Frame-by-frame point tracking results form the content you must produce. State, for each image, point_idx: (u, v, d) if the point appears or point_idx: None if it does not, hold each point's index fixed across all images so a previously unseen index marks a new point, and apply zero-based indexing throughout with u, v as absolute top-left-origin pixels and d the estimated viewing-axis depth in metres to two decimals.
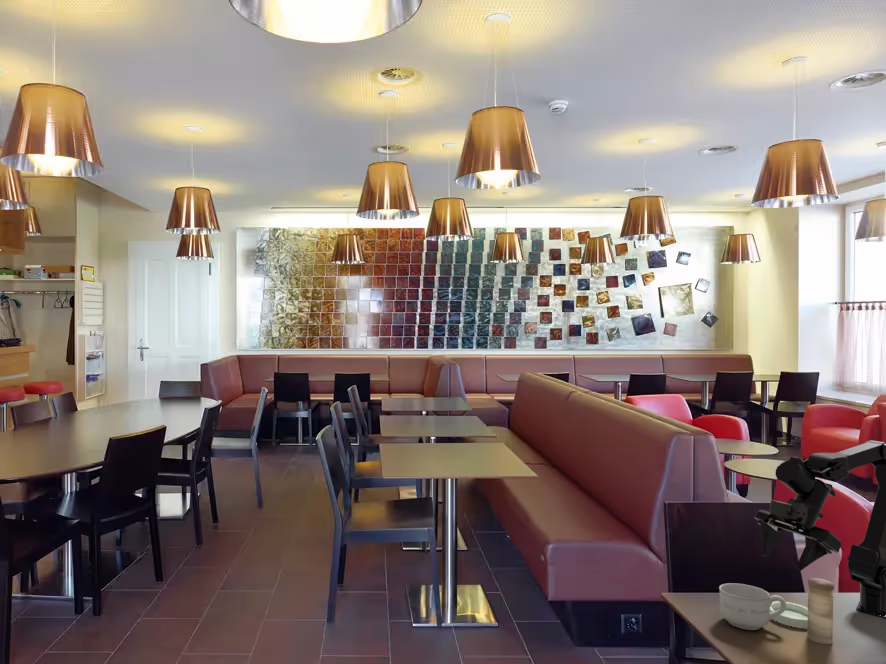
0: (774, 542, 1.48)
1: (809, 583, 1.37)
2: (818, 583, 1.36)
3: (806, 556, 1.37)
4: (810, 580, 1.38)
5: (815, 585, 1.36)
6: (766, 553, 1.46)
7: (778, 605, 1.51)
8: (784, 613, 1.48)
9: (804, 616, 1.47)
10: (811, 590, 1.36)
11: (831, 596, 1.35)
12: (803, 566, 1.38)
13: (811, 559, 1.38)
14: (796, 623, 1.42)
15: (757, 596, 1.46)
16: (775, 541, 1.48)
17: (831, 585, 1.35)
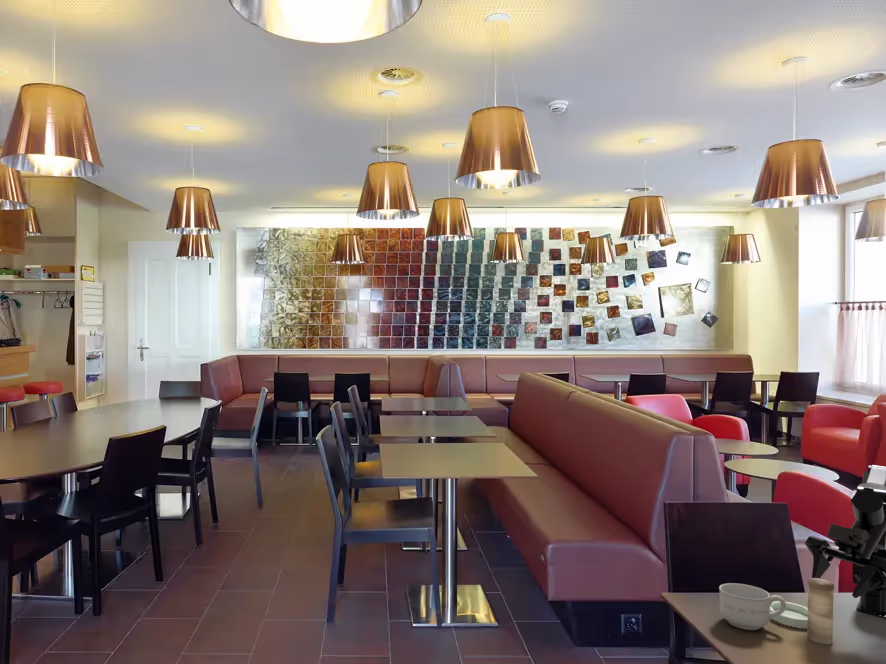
0: (823, 570, 1.45)
1: (809, 583, 1.37)
2: (818, 583, 1.36)
3: (864, 584, 1.34)
4: (810, 580, 1.38)
5: (815, 585, 1.36)
6: None
7: (778, 605, 1.51)
8: (784, 613, 1.48)
9: (804, 616, 1.47)
10: (811, 591, 1.36)
11: (831, 596, 1.35)
12: (859, 594, 1.34)
13: (868, 589, 1.35)
14: (796, 623, 1.42)
15: (757, 596, 1.46)
16: (824, 569, 1.45)
17: (831, 585, 1.35)
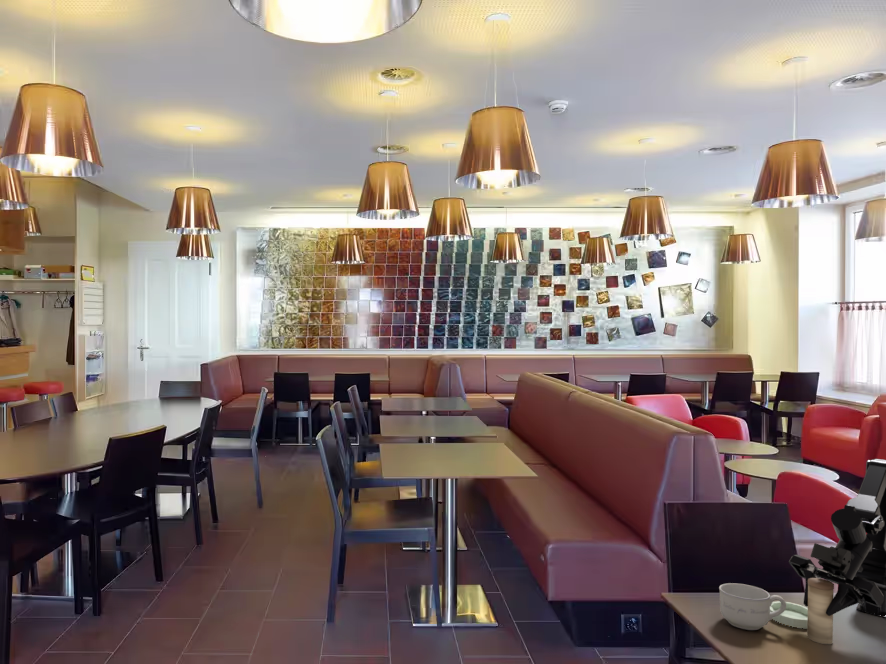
0: None
1: (809, 583, 1.37)
2: (818, 583, 1.36)
3: (837, 602, 1.34)
4: (810, 580, 1.38)
5: (815, 585, 1.36)
6: None
7: (778, 605, 1.51)
8: (784, 613, 1.48)
9: (804, 616, 1.47)
10: (811, 590, 1.36)
11: (831, 596, 1.35)
12: (833, 612, 1.34)
13: (842, 606, 1.34)
14: (796, 623, 1.42)
15: (757, 596, 1.46)
16: None
17: (831, 585, 1.35)
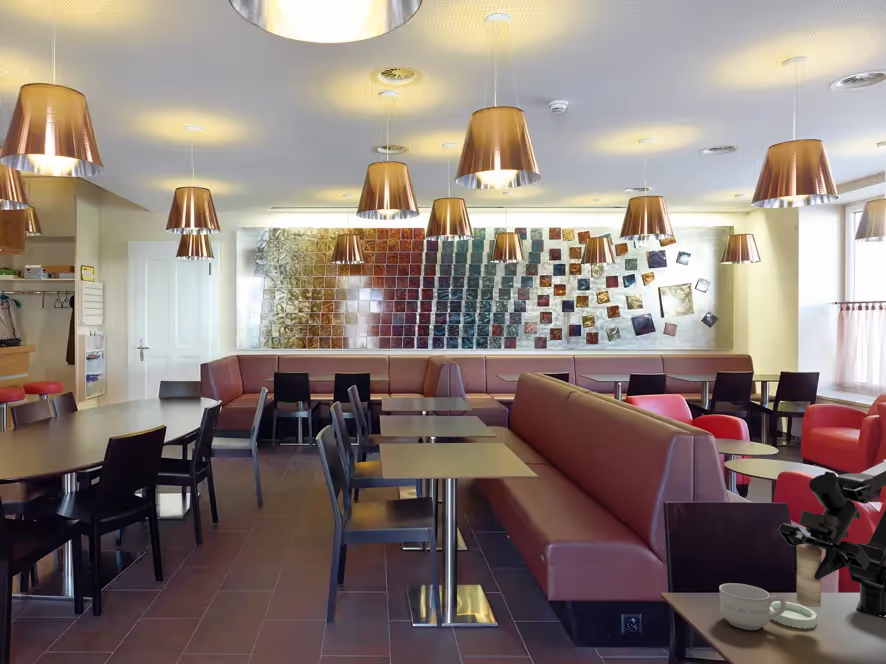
0: None
1: (798, 549, 1.42)
2: (806, 549, 1.40)
3: (825, 566, 1.38)
4: (799, 546, 1.42)
5: (804, 551, 1.40)
6: (796, 568, 1.43)
7: (778, 605, 1.51)
8: (784, 613, 1.48)
9: (804, 616, 1.47)
10: (800, 556, 1.41)
11: (819, 561, 1.39)
12: (821, 576, 1.39)
13: (829, 570, 1.39)
14: (796, 623, 1.42)
15: (757, 596, 1.46)
16: None
17: (819, 550, 1.40)
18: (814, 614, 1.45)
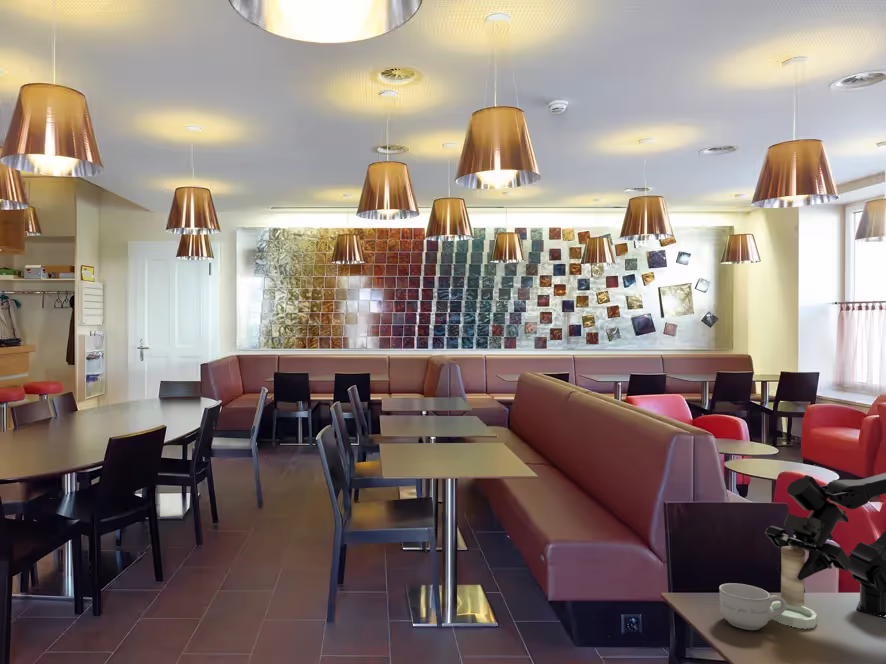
0: None
1: (782, 550, 1.47)
2: (790, 551, 1.46)
3: (808, 567, 1.44)
4: (783, 548, 1.48)
5: (787, 552, 1.46)
6: None
7: (778, 605, 1.51)
8: (784, 613, 1.48)
9: (804, 616, 1.47)
10: (784, 557, 1.46)
11: (802, 562, 1.45)
12: (804, 576, 1.44)
13: (812, 571, 1.44)
14: (796, 623, 1.42)
15: (757, 596, 1.46)
16: None
17: (802, 552, 1.45)
18: (814, 614, 1.45)
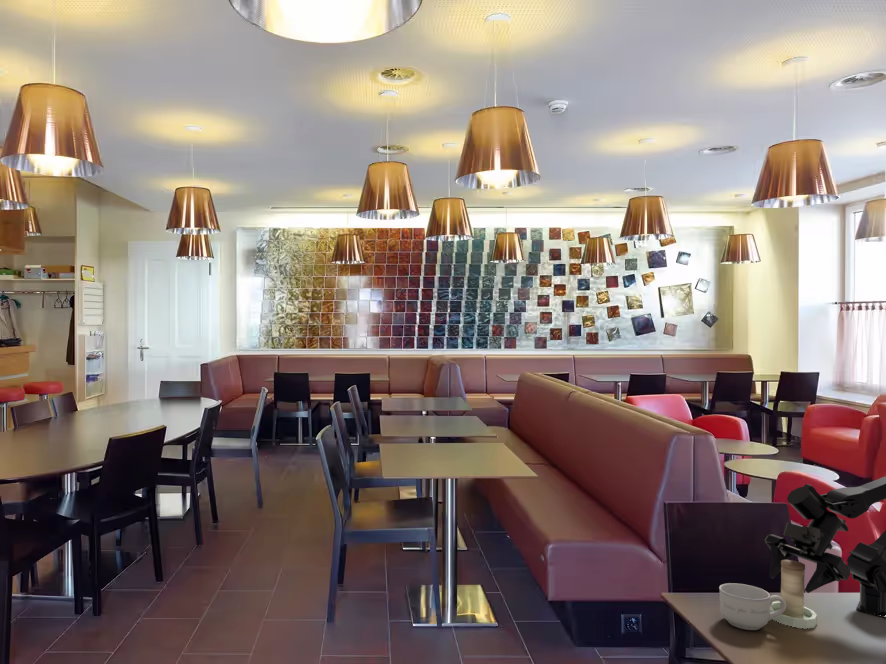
0: None
1: (782, 564, 1.47)
2: (790, 564, 1.46)
3: (816, 579, 1.42)
4: (783, 561, 1.48)
5: (787, 566, 1.46)
6: (773, 575, 1.51)
7: (778, 605, 1.51)
8: None
9: (804, 616, 1.47)
10: (784, 571, 1.46)
11: (802, 576, 1.45)
12: (811, 589, 1.42)
13: (820, 584, 1.42)
14: (796, 623, 1.42)
15: (757, 596, 1.46)
16: None
17: (802, 566, 1.45)
18: (814, 614, 1.45)
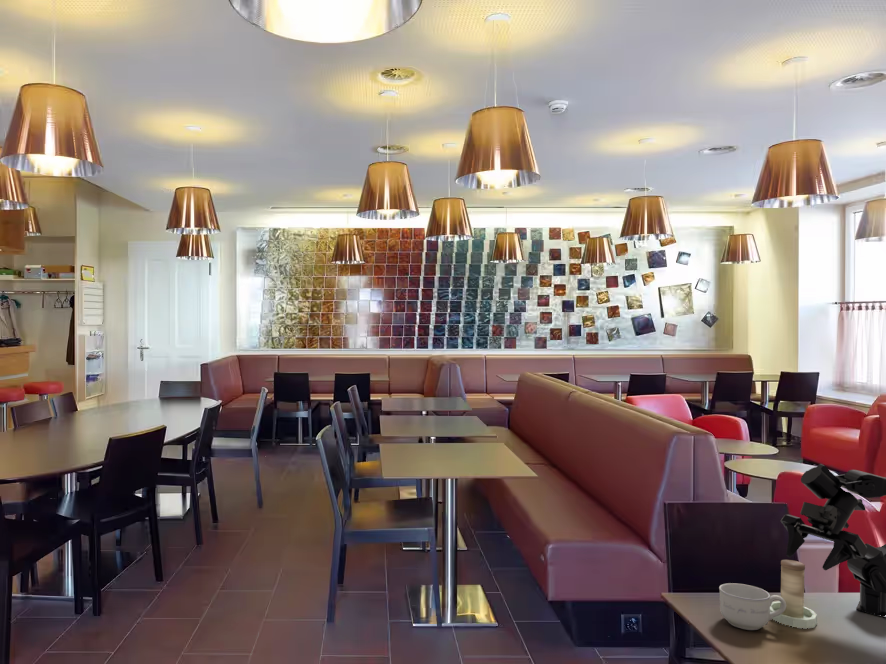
0: (798, 546, 1.54)
1: (782, 564, 1.47)
2: (790, 564, 1.46)
3: (833, 557, 1.44)
4: (783, 561, 1.48)
5: (787, 566, 1.46)
6: (790, 554, 1.52)
7: (778, 605, 1.51)
8: None
9: (804, 616, 1.47)
10: (784, 571, 1.46)
11: (802, 576, 1.45)
12: (829, 566, 1.44)
13: (837, 561, 1.44)
14: (796, 623, 1.42)
15: (757, 596, 1.46)
16: (799, 545, 1.54)
17: (802, 566, 1.45)
18: (814, 614, 1.45)
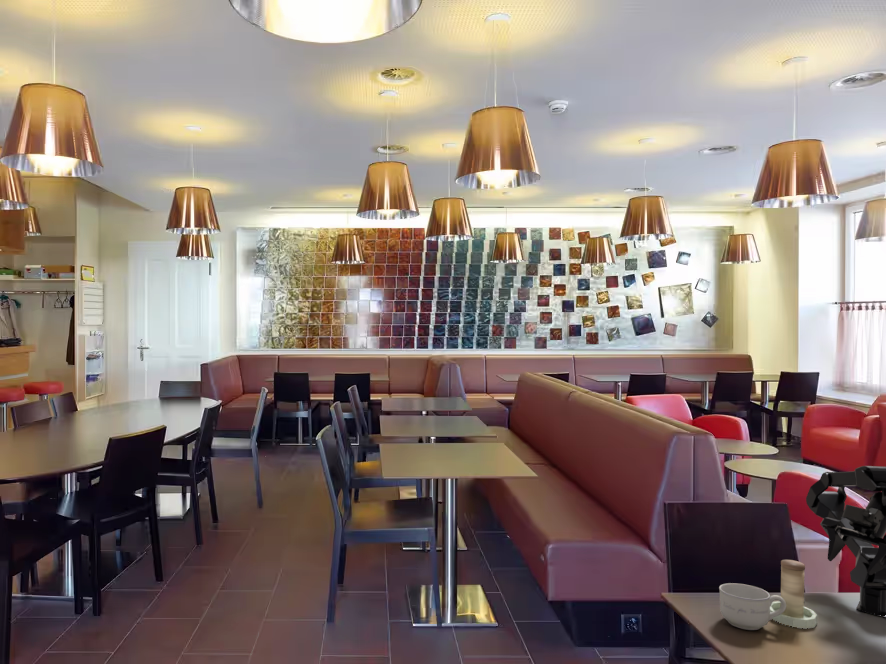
0: (839, 549, 1.50)
1: (782, 564, 1.47)
2: (790, 564, 1.46)
3: (878, 561, 1.40)
4: (783, 561, 1.48)
5: (787, 566, 1.46)
6: (831, 558, 1.49)
7: (778, 605, 1.51)
8: None
9: (804, 616, 1.47)
10: (784, 571, 1.46)
11: (802, 576, 1.45)
12: (873, 571, 1.40)
13: (882, 566, 1.40)
14: (796, 623, 1.42)
15: (757, 596, 1.46)
16: (840, 548, 1.51)
17: (802, 566, 1.45)
18: (814, 614, 1.45)
